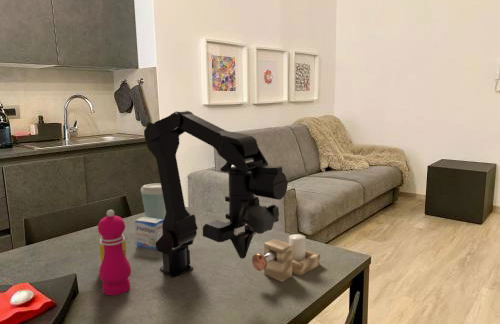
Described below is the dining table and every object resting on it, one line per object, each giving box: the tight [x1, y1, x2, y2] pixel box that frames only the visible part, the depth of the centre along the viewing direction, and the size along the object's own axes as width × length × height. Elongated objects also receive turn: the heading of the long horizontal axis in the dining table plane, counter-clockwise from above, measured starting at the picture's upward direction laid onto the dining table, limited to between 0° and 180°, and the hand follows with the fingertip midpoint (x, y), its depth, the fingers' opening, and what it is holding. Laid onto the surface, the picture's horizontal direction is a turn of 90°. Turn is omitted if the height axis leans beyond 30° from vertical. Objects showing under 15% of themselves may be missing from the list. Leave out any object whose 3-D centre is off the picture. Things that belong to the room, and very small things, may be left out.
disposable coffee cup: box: [140, 183, 166, 219], centre depth 137 cm, size 11×11×15 cm
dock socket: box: [263, 238, 321, 283], centre depth 103 cm, size 14×9×8 cm, turn 136°
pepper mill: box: [97, 209, 132, 296], centre depth 92 cm, size 7×7×20 cm
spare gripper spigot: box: [288, 233, 307, 262], centre depth 105 cm, size 4×4×8 cm
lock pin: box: [251, 251, 277, 272], centre depth 96 cm, size 8×4×4 cm, turn 136°
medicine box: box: [134, 216, 164, 251], centre depth 119 cm, size 8×4×9 cm, turn 68°
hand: (242, 257), depth 89 cm, fingers closed
